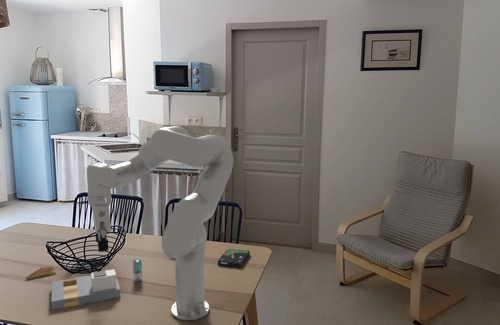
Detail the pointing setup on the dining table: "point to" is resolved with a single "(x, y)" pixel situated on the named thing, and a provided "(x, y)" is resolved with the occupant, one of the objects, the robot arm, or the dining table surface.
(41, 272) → the shard
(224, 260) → the disk drive
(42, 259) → the dining table surface
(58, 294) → the subfloor panel
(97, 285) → the white rectangular block
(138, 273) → the green silver cylinder
